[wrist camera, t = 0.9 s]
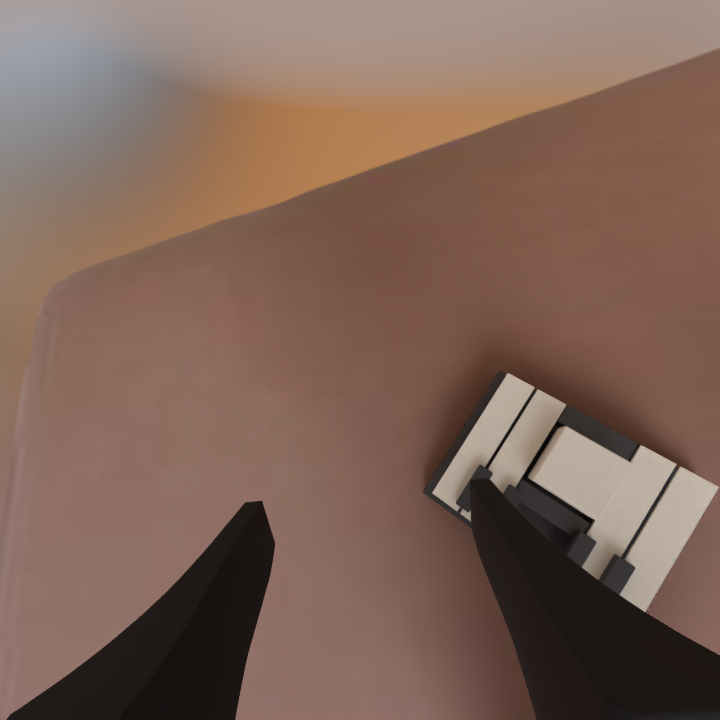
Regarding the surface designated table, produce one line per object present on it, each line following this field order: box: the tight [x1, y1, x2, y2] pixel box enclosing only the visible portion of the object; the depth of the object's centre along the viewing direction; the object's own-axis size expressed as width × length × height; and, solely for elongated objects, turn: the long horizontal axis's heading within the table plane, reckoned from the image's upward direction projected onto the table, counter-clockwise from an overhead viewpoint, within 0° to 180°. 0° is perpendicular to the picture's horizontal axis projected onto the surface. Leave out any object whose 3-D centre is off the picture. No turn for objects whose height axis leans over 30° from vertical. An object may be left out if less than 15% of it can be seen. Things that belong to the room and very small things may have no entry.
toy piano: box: [423, 371, 678, 559], centre depth 22 cm, size 10×13×3 cm
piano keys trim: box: [432, 373, 719, 612], centre depth 21 cm, size 9×12×1 cm
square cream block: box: [528, 426, 632, 521], centre depth 21 cm, size 4×4×2 cm
